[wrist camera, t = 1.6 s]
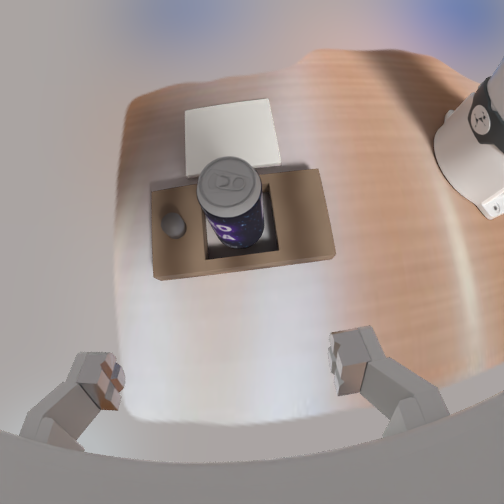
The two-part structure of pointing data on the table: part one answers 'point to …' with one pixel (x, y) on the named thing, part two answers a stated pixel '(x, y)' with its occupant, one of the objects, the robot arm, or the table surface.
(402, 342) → the table surface
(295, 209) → the base
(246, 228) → the beverage can
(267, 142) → the pad
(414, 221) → the table surface
